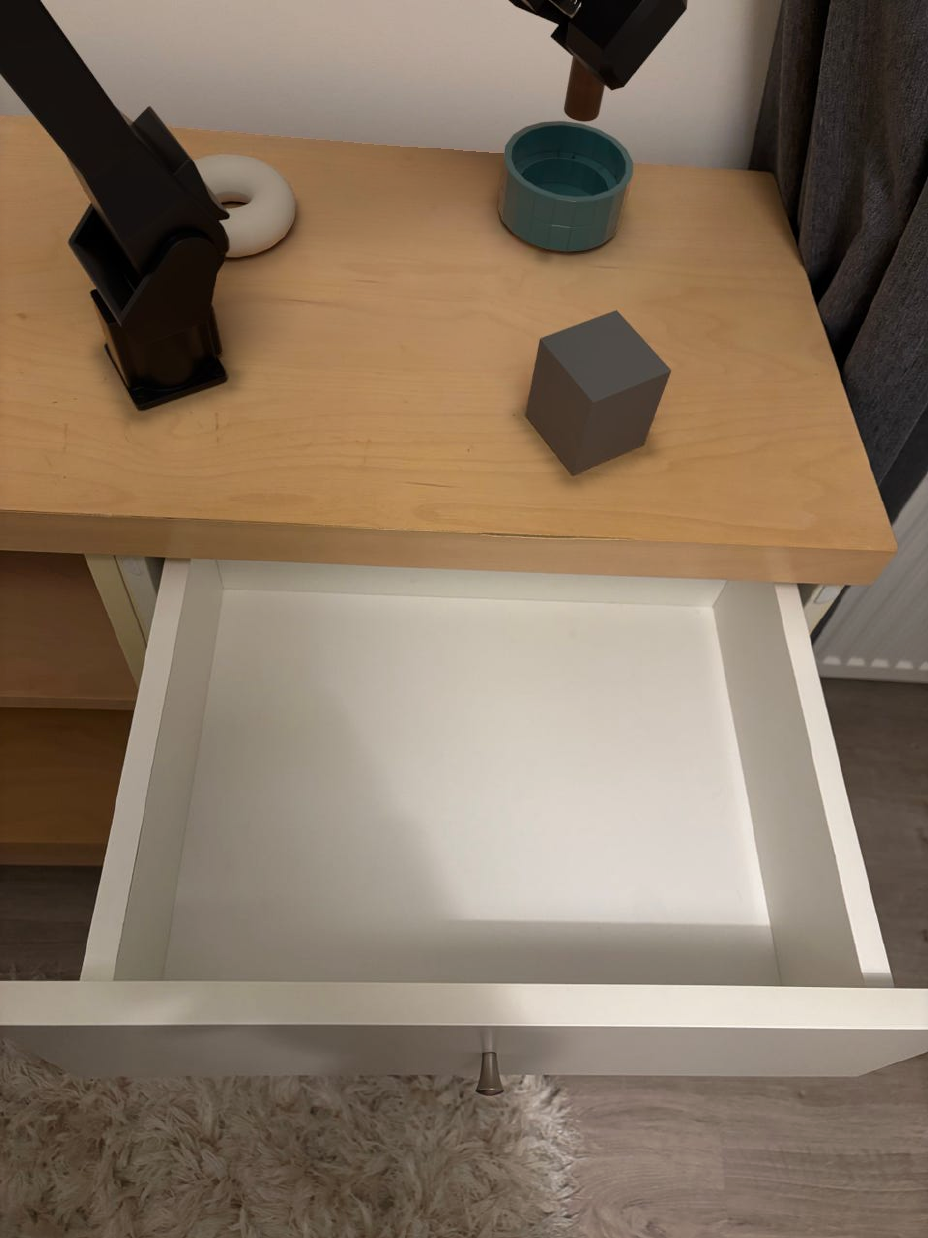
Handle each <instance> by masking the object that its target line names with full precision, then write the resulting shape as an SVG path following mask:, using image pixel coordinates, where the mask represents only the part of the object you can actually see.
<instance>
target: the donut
mask: <svg viewBox="0 0 928 1238" xmlns="http://www.w3.org/2000/svg"><path fill="white" fill-rule="evenodd" d="M193 161H194V163H195V165H196V167H197V169H198V171H199V173H200V175H201V177H202V179H203V181H204V182H205V183H206V185H207V186H208V187H209V188H210V190H211V191H212V192H213V194H214V195H215V196H216V197H217V199H218V200H219V201H220V203H221V204H222V203H227V202H241V203H244V204H243V205H241V206H239V207H232V208H225V209H226V210H227V212H228V213H229V214H230V218H229V219H227V220H221V221H220V223H221V224H222V225H223V226H224V228H225V231H226V233H227V235H228V238H229V243H230V250H229V251H228V252H227V253H226V257H225V258H241V257H247V256H253V255H256V254H258V253H261V252H264V251H266V250H268V249H270V248H271V247H273V246H275V245H276V244H277V243H278V242H280V241H281V240H282V239H284V238H285V237H286V235H287V233H288V232H289V230H290V229H291V227H292V225H293V224H294V221H295V216H296V213H295V212H296V203H297V200H296V197H295V194H294V192H293V189H292V186H291V184H290V182H289V181H288V179H287V178H286V177H285V176H284V175H283V174H282V173H281V172H280V171H279V170H278V169H277V168H276V167H274V166H273V165H270V164H269V163H267V162H265V161H263V160H261V159H259V158H257V157H252V156H249V155H245V154H241V153H239V154H238V153H219V154H212V155H205V156H201V157H200V158H196V159H194V160H193Z"/></svg>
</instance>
